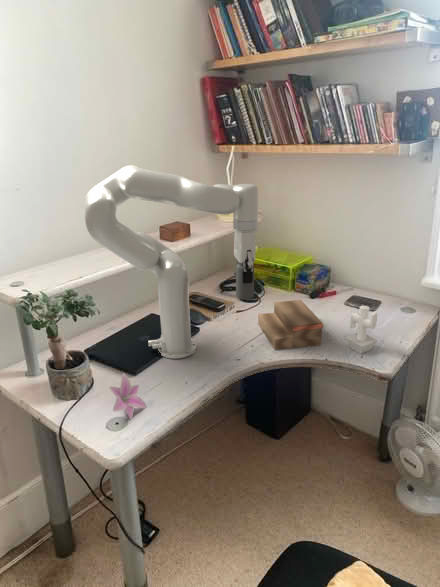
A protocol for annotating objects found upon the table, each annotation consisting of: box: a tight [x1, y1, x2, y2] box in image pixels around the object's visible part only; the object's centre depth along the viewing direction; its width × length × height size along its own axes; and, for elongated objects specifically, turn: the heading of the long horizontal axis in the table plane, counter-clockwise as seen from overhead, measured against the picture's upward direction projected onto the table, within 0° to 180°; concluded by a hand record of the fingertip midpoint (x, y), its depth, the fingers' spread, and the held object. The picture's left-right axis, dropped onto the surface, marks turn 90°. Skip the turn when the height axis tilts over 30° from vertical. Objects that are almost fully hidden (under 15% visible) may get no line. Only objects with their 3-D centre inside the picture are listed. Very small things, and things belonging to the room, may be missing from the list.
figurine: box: [344, 305, 379, 355], centre depth 145 cm, size 7×9×15 cm
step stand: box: [257, 299, 324, 351], centre depth 158 cm, size 16×21×8 cm
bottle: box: [235, 259, 255, 300], centre depth 148 cm, size 6×6×15 cm
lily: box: [108, 372, 148, 420], centre depth 120 cm, size 11×11×9 cm
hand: (245, 278), depth 149 cm, fingers closed on bottle, 5 cm apart
